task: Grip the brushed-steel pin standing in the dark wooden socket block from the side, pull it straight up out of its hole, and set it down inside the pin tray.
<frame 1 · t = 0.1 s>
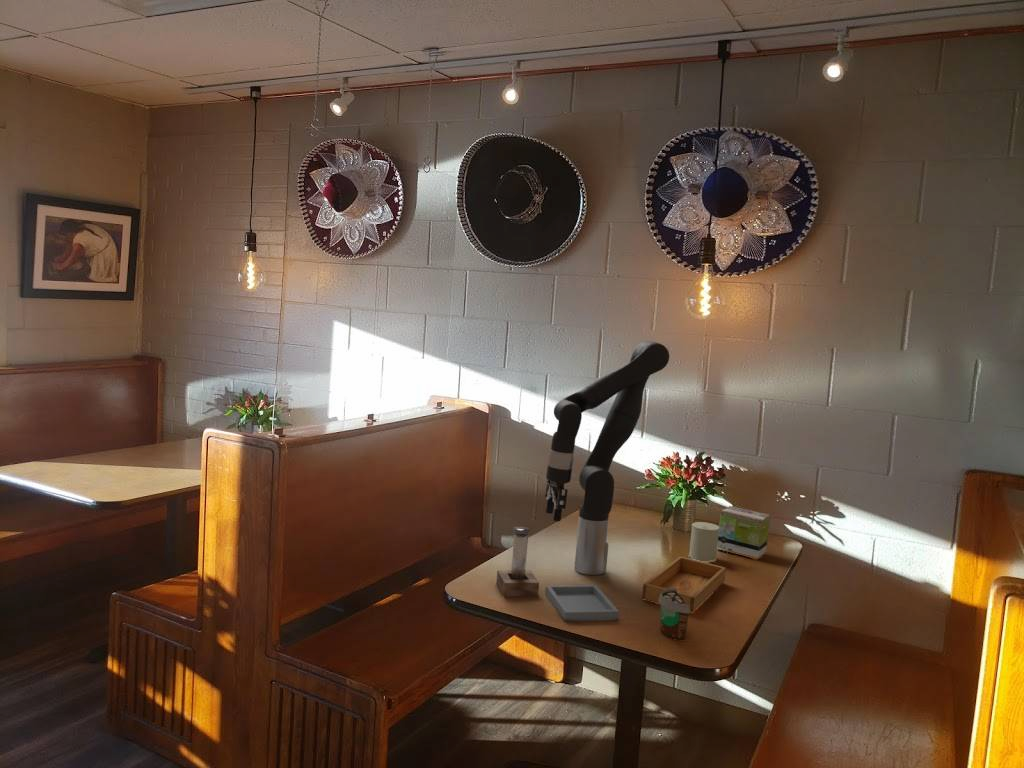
hand: (552, 516, 243), 17 cm above the table, tool pointing down, fingers open, 8 cm apart
socket block: (516, 589, 227), on the table
tray: (684, 593, 236), on the table
tea box: (741, 553, 278), on the table
pin tray: (580, 606, 218), on the table
steel pin: (519, 559, 226), in the socket block
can: (702, 559, 268), on the table
food container: (667, 633, 205), on the table
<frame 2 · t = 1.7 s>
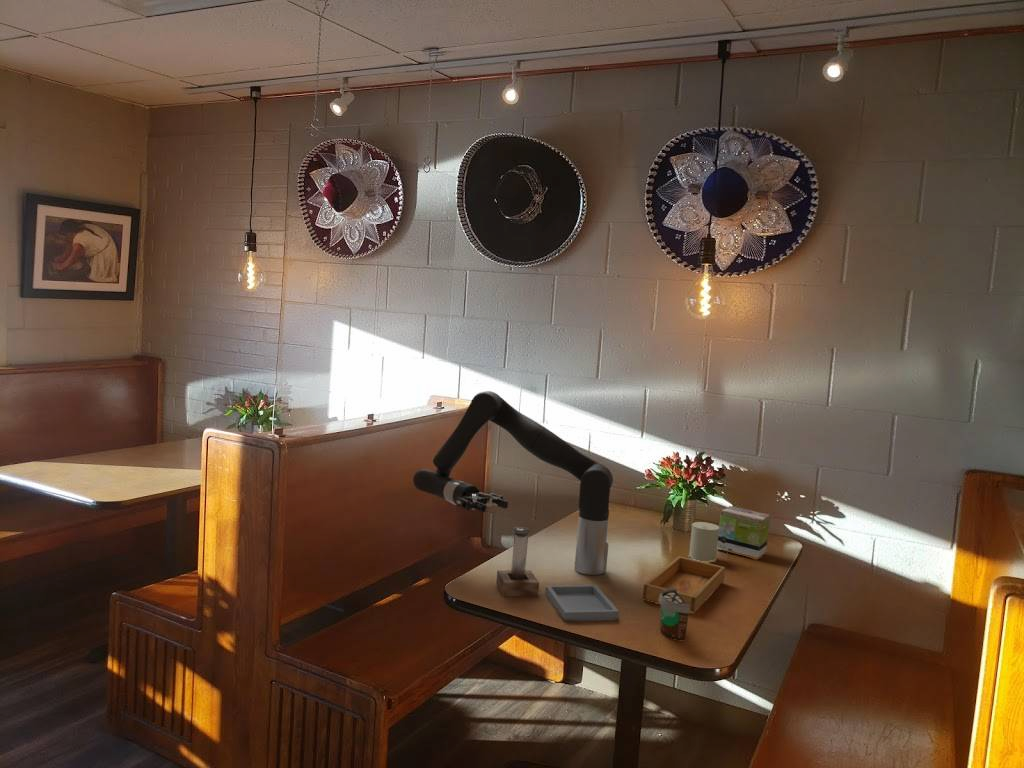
hand: (496, 507, 233), 22 cm above the table, tool horizontal, fingers open, 8 cm apart
nothing on the table moved.
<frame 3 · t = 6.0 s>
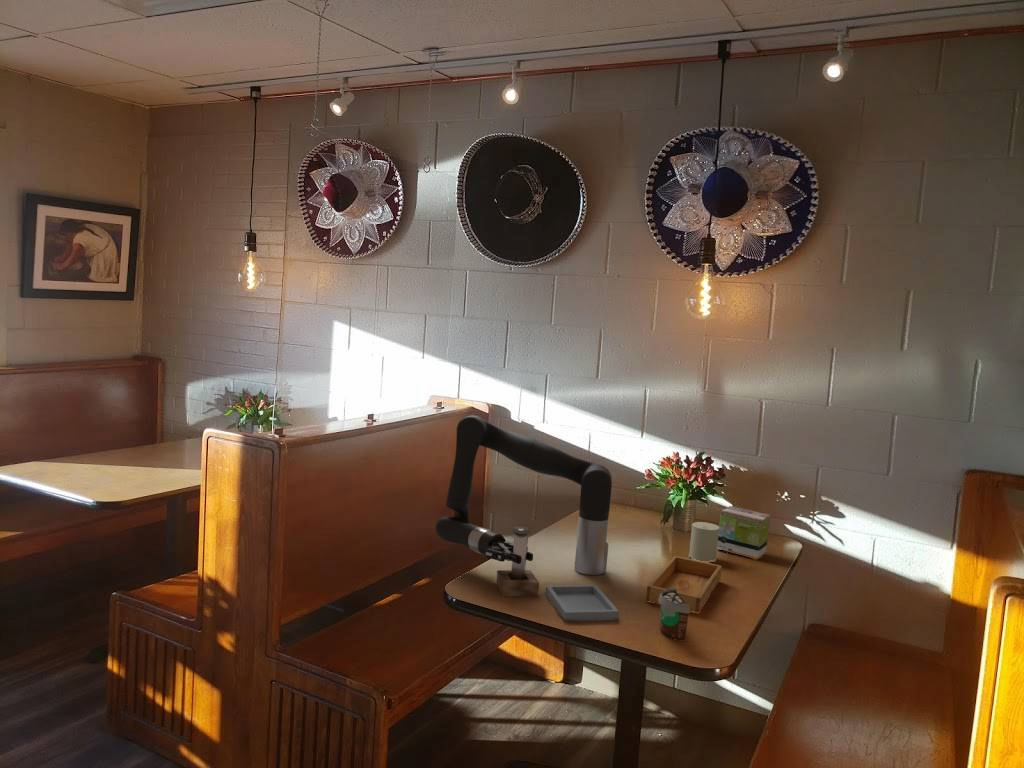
hand: (526, 558, 224), 10 cm above the table, tool horizontal, fingers closed on steel pin, 4 cm apart
steel pin: (519, 559, 226), in the socket block, touching gripper
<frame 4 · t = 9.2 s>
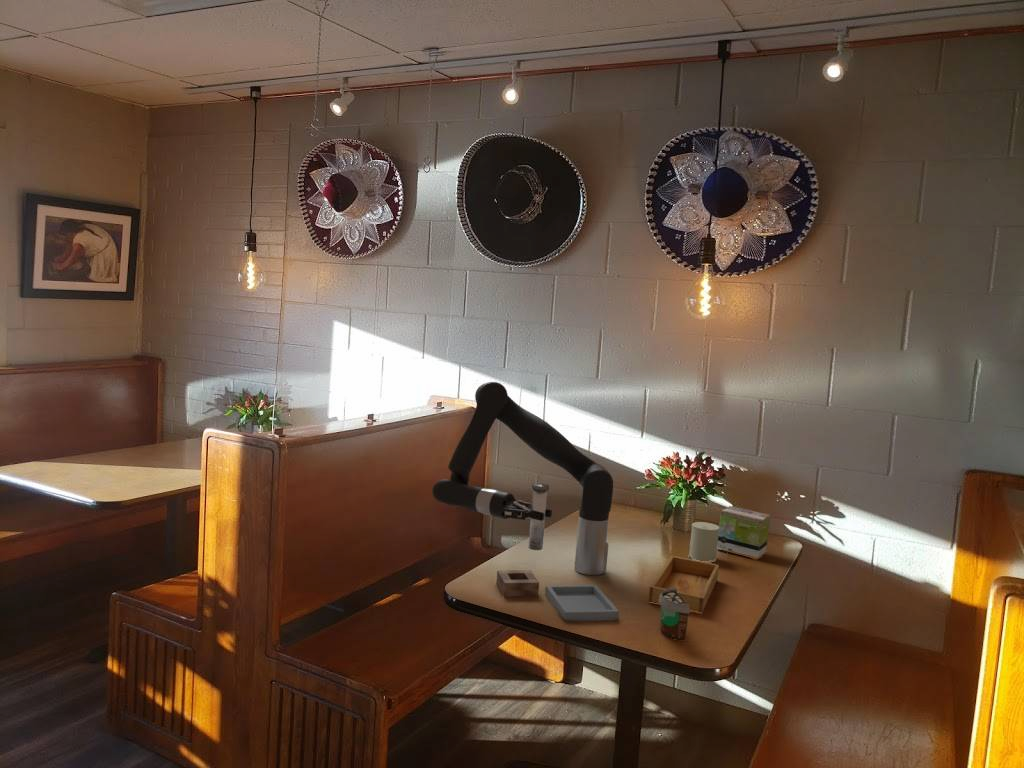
hand: (547, 515, 220), 24 cm above the table, tool horizontal, fingers closed on steel pin, 4 cm apart
steel pin: (538, 516, 221), point 23 cm above the table, touching gripper
when the fingers open (12 cm above the table, at t = 12.6 s): steel pin drops 1 cm, resting on pin tray.
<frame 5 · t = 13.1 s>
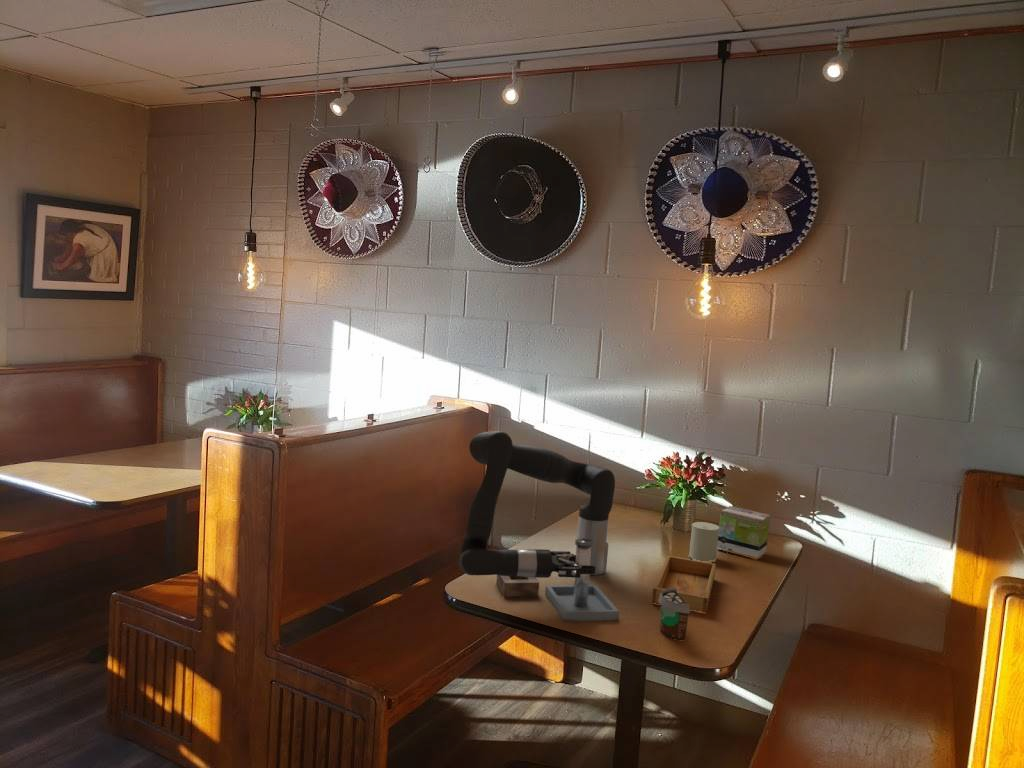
hand: (591, 564, 217), 12 cm above the table, tool horizontal, fingers open, 8 cm apart
steel pin: (582, 572, 217), in the pin tray, point 10 cm above the table
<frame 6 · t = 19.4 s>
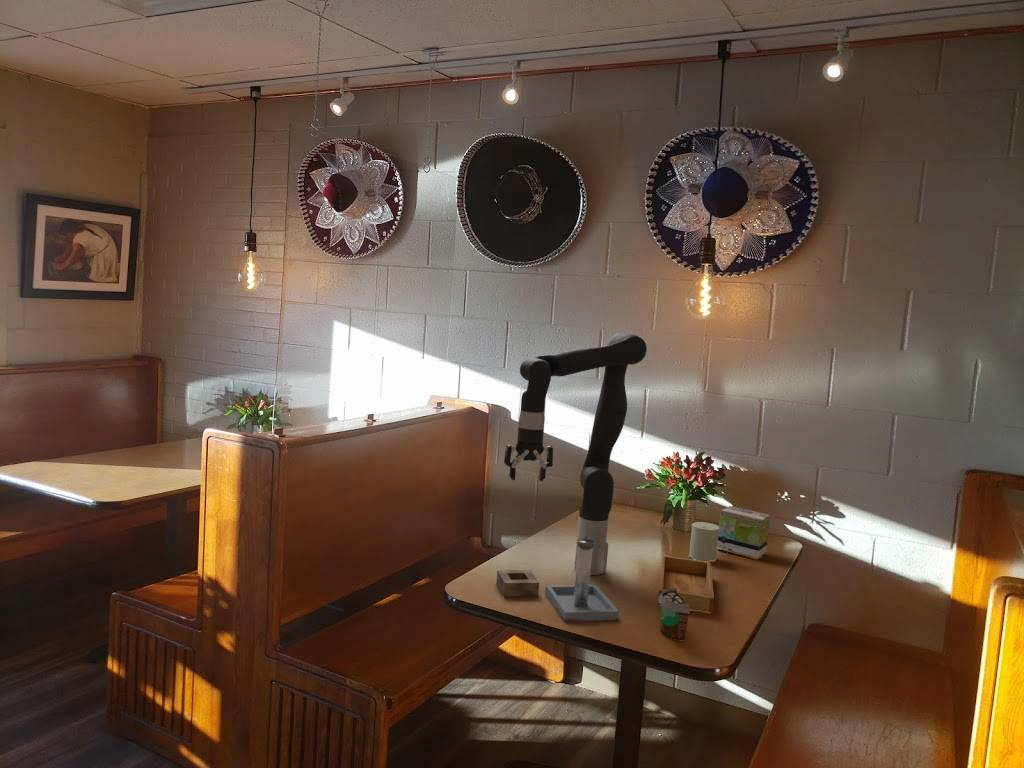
hand: (527, 480, 233), 30 cm above the table, tool pointing down, fingers open, 8 cm apart
at the end: steel pin inside the target area on the pin tray (0.1 cm from its centre), point 9.6 cm above the pin tray's base; the gripper is holding nothing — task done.
